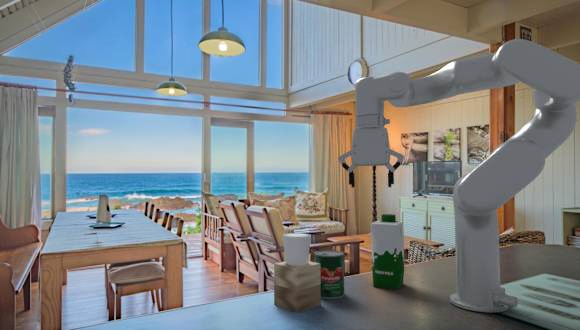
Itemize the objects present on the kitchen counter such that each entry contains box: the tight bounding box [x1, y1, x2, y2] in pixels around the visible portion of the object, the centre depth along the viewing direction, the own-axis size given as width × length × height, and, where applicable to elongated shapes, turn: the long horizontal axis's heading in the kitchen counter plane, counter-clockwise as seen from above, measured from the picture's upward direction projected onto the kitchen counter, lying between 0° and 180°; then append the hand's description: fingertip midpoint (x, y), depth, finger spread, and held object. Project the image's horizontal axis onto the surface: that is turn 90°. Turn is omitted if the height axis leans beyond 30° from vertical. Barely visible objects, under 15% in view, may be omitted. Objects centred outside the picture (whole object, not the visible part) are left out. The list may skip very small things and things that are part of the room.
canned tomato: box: [313, 249, 345, 300], centre depth 99 cm, size 8×8×11 cm
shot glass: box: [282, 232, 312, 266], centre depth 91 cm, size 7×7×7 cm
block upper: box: [273, 260, 321, 291], centre depth 91 cm, size 8×8×5 cm
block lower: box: [273, 284, 322, 314], centre depth 91 cm, size 8×8×5 cm
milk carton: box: [370, 213, 405, 290], centre depth 108 cm, size 9×9×20 cm
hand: (371, 187), depth 100 cm, fingers open, 9 cm apart
